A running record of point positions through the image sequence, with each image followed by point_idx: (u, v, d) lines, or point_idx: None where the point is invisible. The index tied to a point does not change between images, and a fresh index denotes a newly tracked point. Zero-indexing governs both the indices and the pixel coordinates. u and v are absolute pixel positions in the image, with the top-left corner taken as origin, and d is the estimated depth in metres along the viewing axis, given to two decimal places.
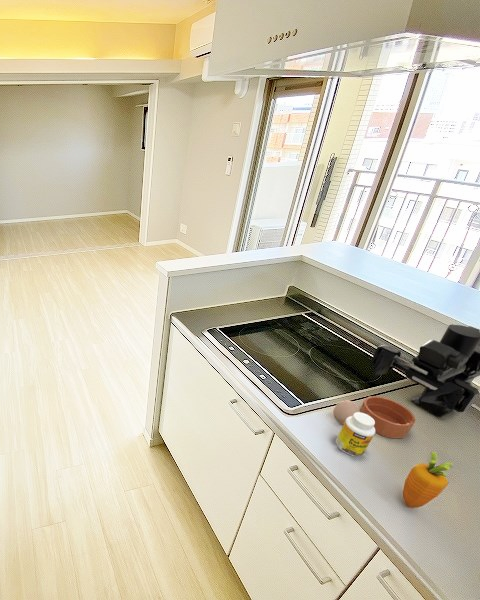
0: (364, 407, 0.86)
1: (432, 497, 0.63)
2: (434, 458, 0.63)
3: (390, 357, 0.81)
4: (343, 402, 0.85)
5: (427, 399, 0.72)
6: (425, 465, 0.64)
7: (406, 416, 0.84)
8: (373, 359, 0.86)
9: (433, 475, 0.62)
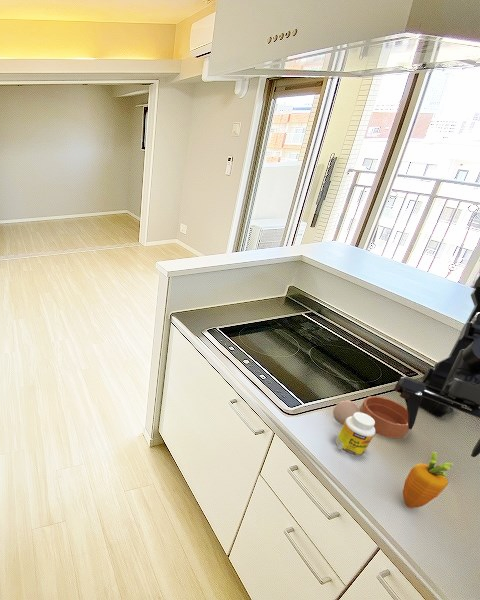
0: (364, 407, 0.86)
1: (432, 497, 0.63)
2: (434, 458, 0.63)
3: (418, 400, 0.70)
4: (343, 402, 0.85)
5: None
6: (425, 465, 0.64)
7: (406, 416, 0.84)
8: (396, 389, 0.75)
9: (433, 475, 0.62)
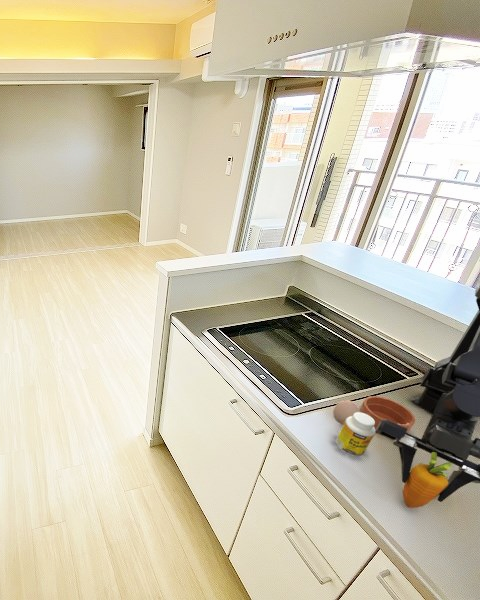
0: (364, 407, 0.86)
1: (432, 497, 0.63)
2: (434, 458, 0.63)
3: (412, 452, 0.66)
4: (343, 402, 0.85)
5: (446, 496, 0.63)
6: (425, 465, 0.64)
7: (406, 416, 0.84)
8: (377, 431, 0.72)
9: (433, 475, 0.62)
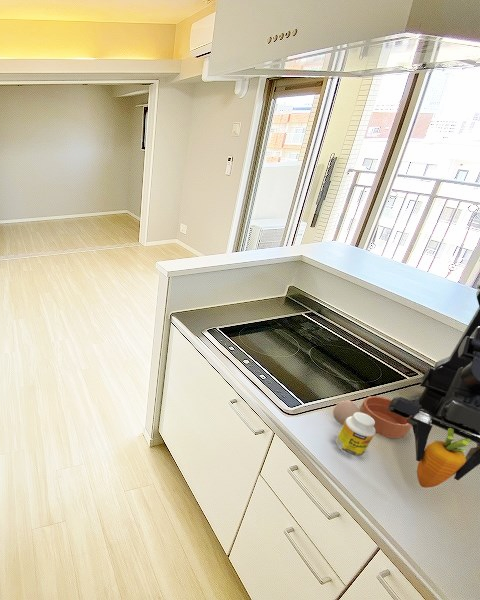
0: (364, 407, 0.86)
1: (449, 475, 0.60)
2: (451, 434, 0.60)
3: (427, 429, 0.63)
4: (343, 402, 0.85)
5: None
6: (441, 442, 0.61)
7: None
8: (389, 409, 0.69)
9: (450, 452, 0.59)
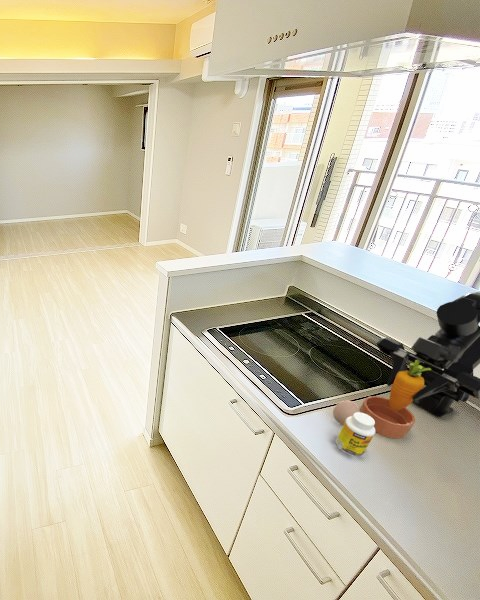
0: (364, 407, 0.86)
1: (408, 396, 0.76)
2: (416, 364, 0.75)
3: (400, 361, 0.78)
4: (343, 402, 0.85)
5: (422, 397, 0.74)
6: (409, 371, 0.76)
7: (406, 416, 0.84)
8: (380, 349, 0.84)
9: (411, 376, 0.75)
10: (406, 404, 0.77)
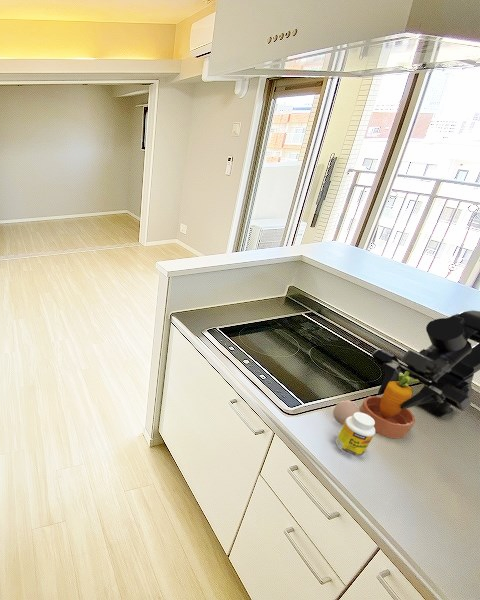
0: (364, 407, 0.86)
1: (396, 404, 0.81)
2: (405, 375, 0.80)
3: (391, 371, 0.83)
4: (343, 402, 0.85)
5: (409, 406, 0.79)
6: (399, 381, 0.81)
7: (406, 416, 0.84)
8: (376, 360, 0.89)
9: (399, 386, 0.80)
10: (395, 412, 0.82)
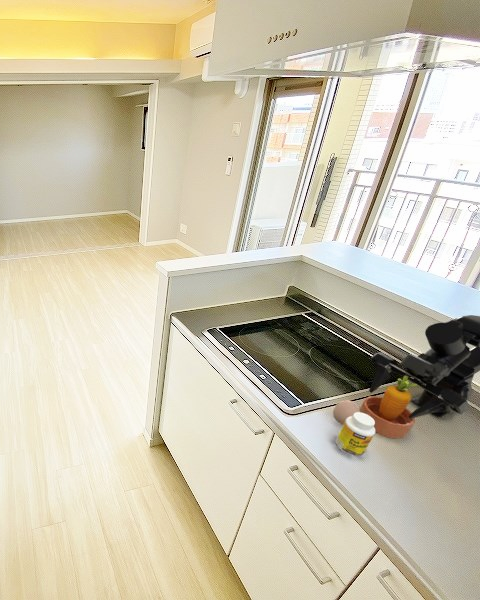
0: (364, 407, 0.86)
1: (395, 409, 0.82)
2: (404, 379, 0.81)
3: (382, 370, 0.86)
4: (343, 402, 0.85)
5: (417, 415, 0.78)
6: (398, 386, 0.82)
7: (406, 416, 0.84)
8: None
9: (398, 391, 0.81)
10: (394, 416, 0.83)
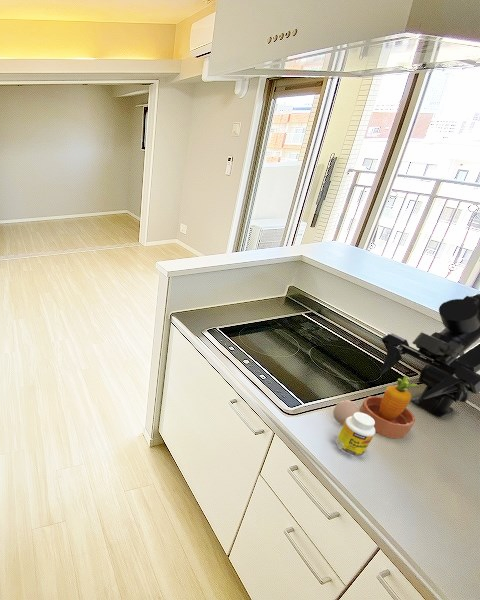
0: (364, 407, 0.86)
1: (395, 409, 0.82)
2: (404, 379, 0.81)
3: (393, 351, 0.83)
4: (343, 402, 0.85)
5: (431, 396, 0.76)
6: (398, 386, 0.82)
7: (406, 416, 0.84)
8: None
9: (398, 391, 0.81)
10: (394, 416, 0.83)
